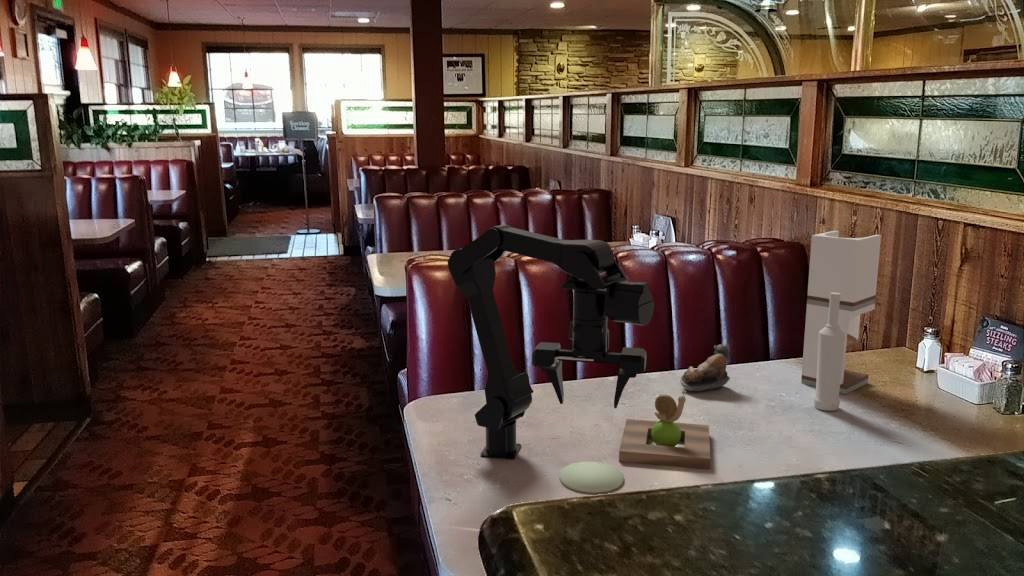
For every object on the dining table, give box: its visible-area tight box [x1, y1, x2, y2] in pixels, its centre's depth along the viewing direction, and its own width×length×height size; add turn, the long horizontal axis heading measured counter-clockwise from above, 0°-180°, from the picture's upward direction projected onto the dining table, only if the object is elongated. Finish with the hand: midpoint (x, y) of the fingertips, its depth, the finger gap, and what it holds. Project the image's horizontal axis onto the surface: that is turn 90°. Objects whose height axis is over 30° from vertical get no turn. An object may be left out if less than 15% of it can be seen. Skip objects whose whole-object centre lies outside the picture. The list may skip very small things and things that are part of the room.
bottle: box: [813, 292, 845, 412], centre depth 165 cm, size 5×5×25 cm
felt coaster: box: [559, 461, 625, 494], centre depth 135 cm, size 11×11×1 cm
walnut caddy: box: [618, 418, 711, 470], centre depth 147 cm, size 16×16×2 cm
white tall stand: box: [800, 230, 882, 395], centre depth 180 cm, size 11×11×35 cm
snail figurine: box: [651, 389, 688, 447], centre depth 146 cm, size 5×6×12 cm
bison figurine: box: [679, 343, 731, 392], centre depth 179 cm, size 12×7×10 cm, turn 112°
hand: (588, 405), depth 133 cm, fingers open, 9 cm apart
